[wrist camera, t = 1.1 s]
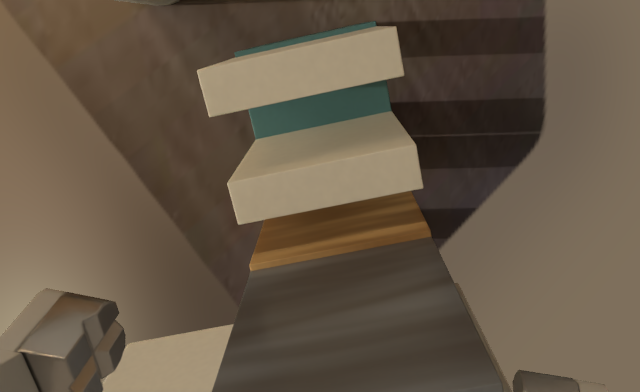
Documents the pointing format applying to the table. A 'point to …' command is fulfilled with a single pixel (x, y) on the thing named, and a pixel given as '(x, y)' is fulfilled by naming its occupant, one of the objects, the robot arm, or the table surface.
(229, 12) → the table surface
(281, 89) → the cream teal blocky piece
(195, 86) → the table surface
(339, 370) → the book stand
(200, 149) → the table surface
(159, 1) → the travel mug
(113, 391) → the white book
